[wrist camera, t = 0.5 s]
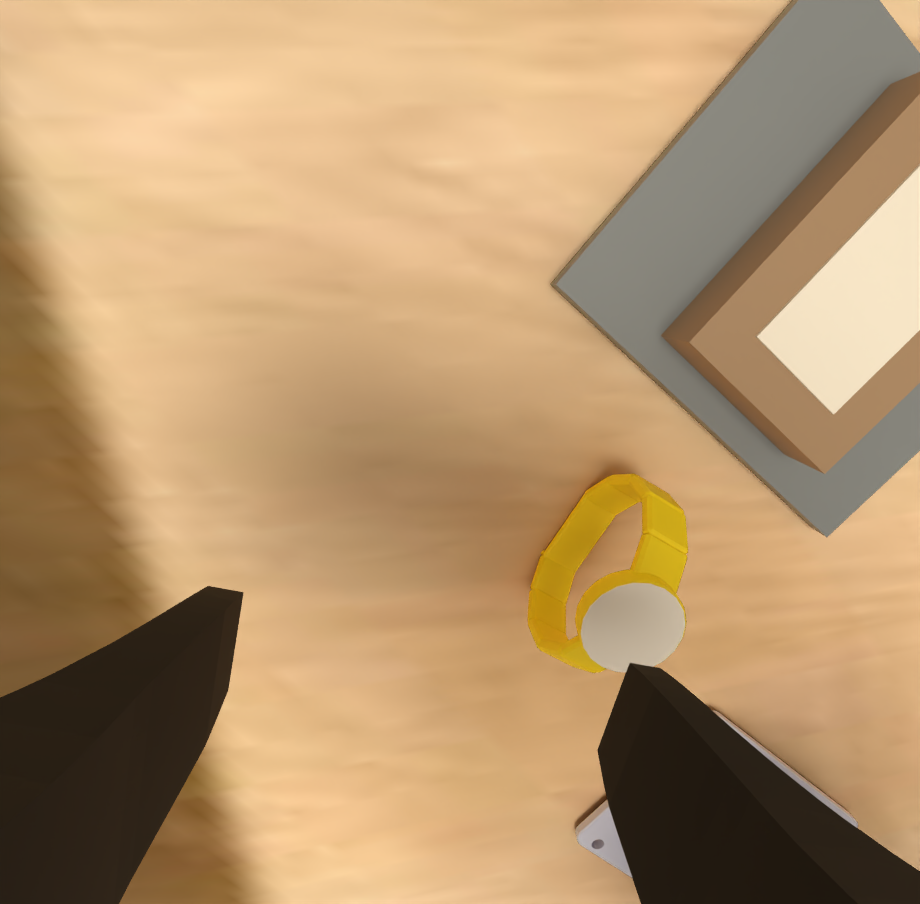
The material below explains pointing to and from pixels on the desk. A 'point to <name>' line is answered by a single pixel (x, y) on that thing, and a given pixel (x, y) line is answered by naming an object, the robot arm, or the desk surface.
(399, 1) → the desk surface
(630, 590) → the watch
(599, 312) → the base board
